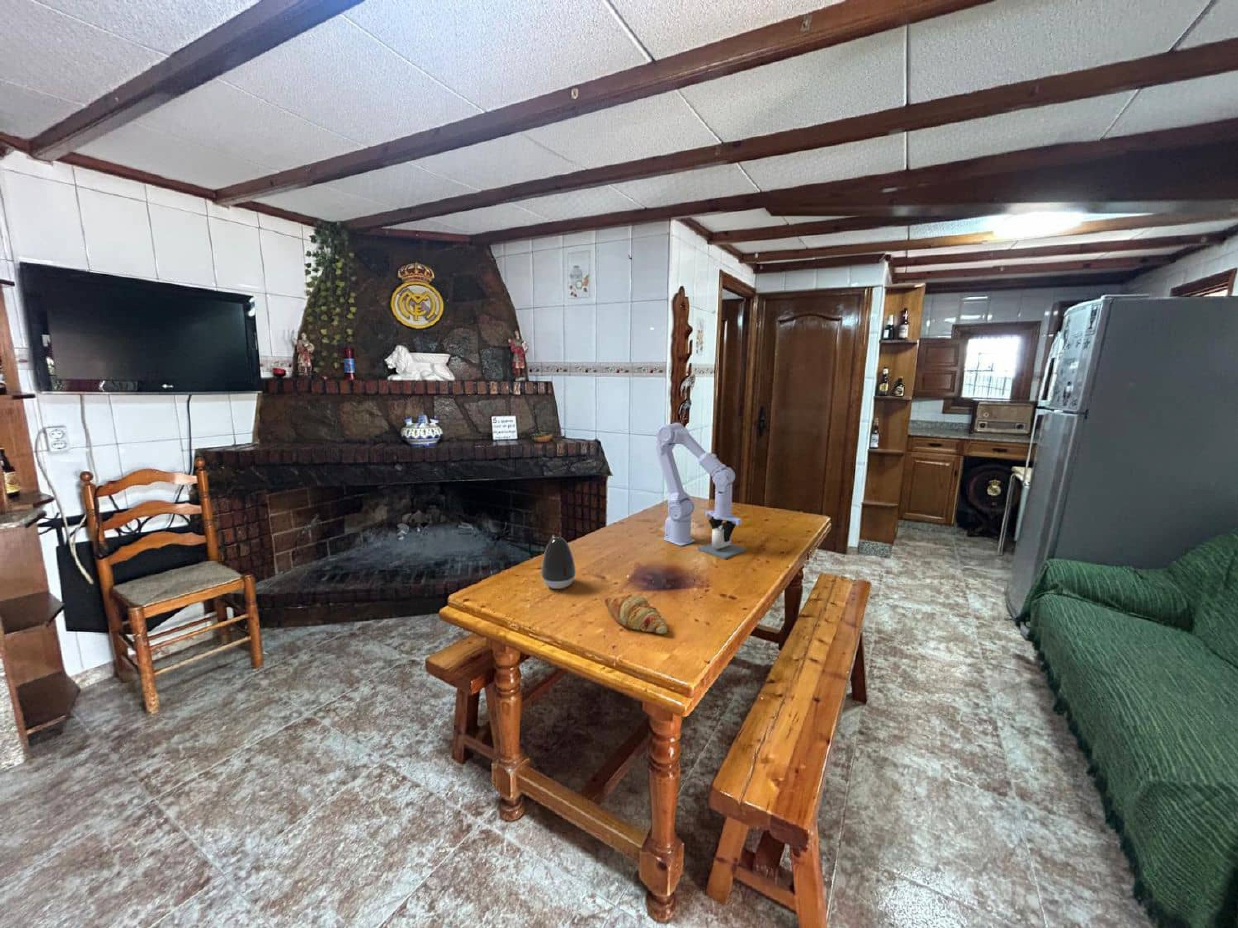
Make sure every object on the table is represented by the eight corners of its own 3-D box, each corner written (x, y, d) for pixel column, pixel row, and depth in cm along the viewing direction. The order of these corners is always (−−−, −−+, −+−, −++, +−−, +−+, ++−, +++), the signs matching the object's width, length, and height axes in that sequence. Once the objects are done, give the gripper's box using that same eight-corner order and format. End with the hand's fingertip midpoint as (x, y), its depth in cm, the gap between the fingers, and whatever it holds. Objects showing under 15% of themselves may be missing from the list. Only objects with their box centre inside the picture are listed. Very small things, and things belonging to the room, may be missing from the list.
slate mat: (697, 549, 178) (697, 547, 178) (719, 541, 186) (719, 539, 186) (724, 559, 169) (724, 557, 169) (746, 550, 177) (746, 548, 177)
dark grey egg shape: (570, 575, 158) (569, 529, 155) (580, 589, 148) (578, 540, 145) (538, 581, 154) (536, 534, 151) (546, 595, 145) (544, 545, 142)
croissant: (673, 644, 125) (683, 613, 126) (651, 641, 118) (661, 608, 119) (612, 614, 139) (621, 586, 141) (589, 610, 132) (599, 581, 133)
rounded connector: (709, 546, 175) (710, 527, 174) (725, 540, 181) (725, 522, 180) (717, 549, 173) (718, 529, 171) (733, 543, 178) (733, 524, 177)
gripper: (699, 500, 177) (698, 537, 180) (733, 509, 166) (731, 548, 169) (712, 497, 181) (711, 532, 184) (746, 505, 171) (744, 543, 173)
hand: (722, 539), depth 177 cm, fingers closed on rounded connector, 3 cm apart
